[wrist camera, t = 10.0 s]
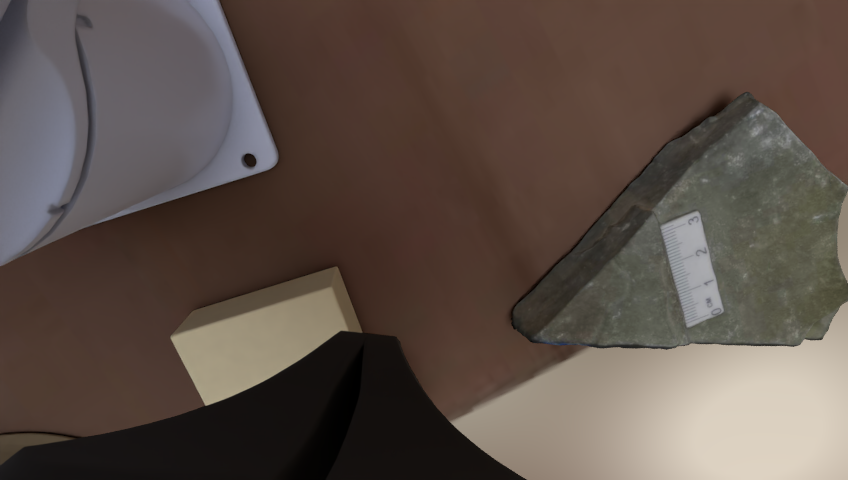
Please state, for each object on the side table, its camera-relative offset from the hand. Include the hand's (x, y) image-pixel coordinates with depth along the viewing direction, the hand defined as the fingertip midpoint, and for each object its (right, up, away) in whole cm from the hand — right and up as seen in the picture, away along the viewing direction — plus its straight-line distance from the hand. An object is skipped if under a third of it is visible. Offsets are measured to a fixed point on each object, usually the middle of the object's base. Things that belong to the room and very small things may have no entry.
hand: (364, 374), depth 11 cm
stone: (+11, +2, +5) cm, 12 cm away
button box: (-4, -2, +9) cm, 10 cm away
